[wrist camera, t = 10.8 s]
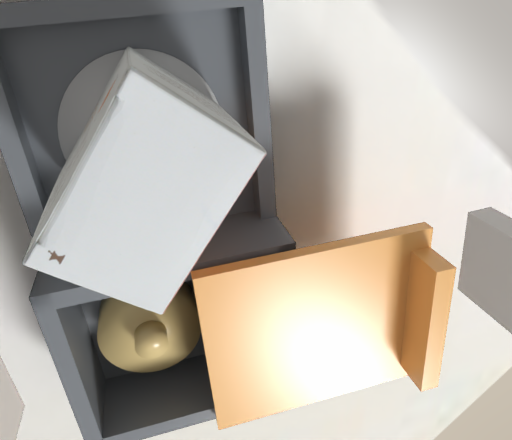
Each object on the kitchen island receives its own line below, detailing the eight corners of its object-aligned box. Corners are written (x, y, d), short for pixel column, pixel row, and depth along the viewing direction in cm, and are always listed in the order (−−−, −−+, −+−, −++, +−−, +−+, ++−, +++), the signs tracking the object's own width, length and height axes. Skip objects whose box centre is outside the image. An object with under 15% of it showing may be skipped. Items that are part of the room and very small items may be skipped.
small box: (149, 214, 27) (161, 322, 17) (57, 171, 24) (15, 271, 15) (218, 100, 25) (273, 153, 16) (127, 41, 22) (129, 63, 13)
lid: (216, 419, 28) (226, 464, 25) (190, 271, 23) (199, 307, 20) (409, 365, 31) (437, 400, 28) (424, 222, 26) (460, 247, 23)
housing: (95, 382, 32) (89, 454, 27) (-32, 7, 21) (-84, 6, 16) (275, 337, 35) (302, 394, 30) (249, -15, 24) (284, -23, 18)
